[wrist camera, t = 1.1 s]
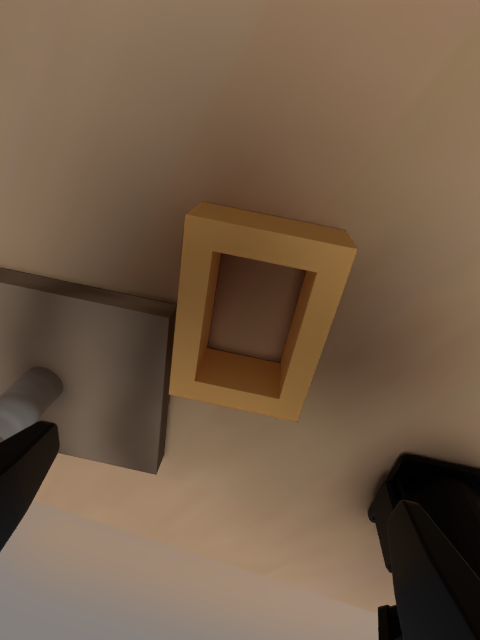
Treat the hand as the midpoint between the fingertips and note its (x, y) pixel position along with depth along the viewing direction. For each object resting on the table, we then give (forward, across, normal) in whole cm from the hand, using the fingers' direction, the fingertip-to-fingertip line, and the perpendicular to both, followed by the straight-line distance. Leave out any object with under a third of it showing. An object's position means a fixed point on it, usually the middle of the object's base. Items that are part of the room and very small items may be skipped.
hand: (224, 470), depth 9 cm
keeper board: (+10, +11, +7) cm, 16 cm away
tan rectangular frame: (+10, 0, 0) cm, 10 cm away
